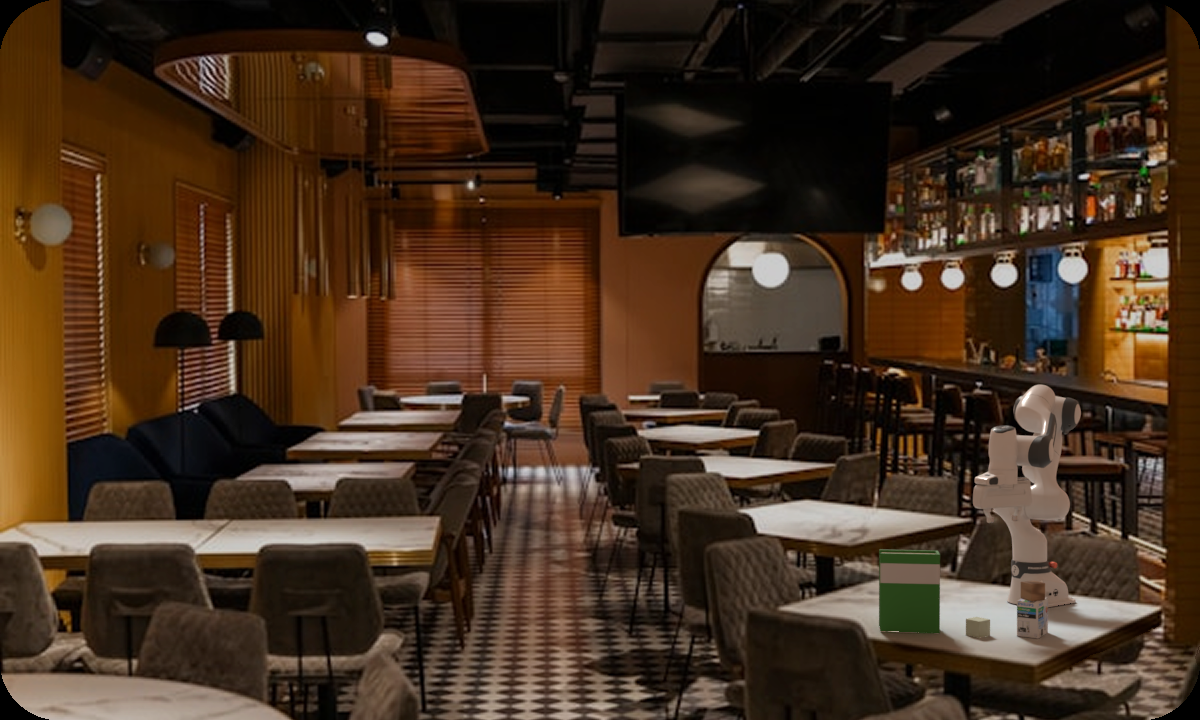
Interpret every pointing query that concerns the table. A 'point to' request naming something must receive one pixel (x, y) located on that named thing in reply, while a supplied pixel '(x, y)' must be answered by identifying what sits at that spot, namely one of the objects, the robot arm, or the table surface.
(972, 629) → the sage cube
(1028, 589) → the walnut cube
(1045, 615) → the light bulb box
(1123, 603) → the table surface
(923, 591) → the green upright box
